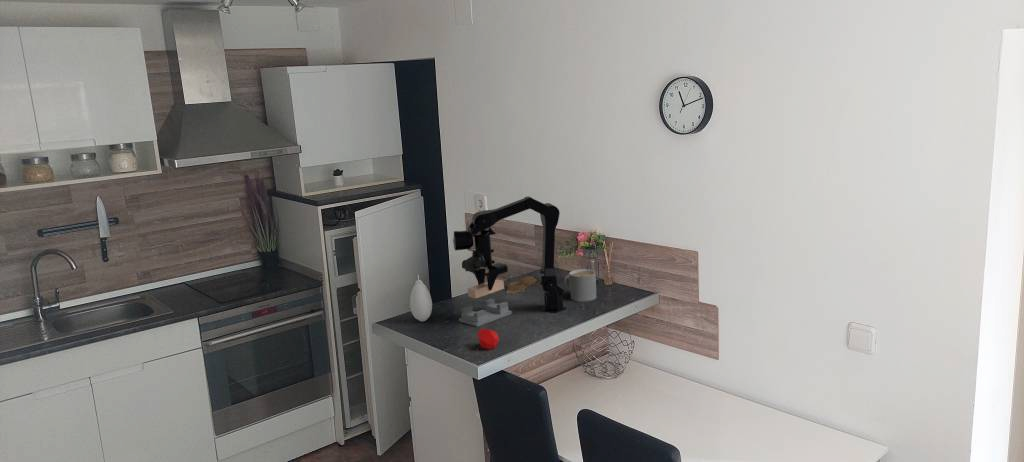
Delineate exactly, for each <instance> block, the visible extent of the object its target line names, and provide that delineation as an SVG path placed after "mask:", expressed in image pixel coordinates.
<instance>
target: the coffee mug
mask: <svg viewBox="0 0 1024 462" xmlns="http://www.w3.org/2000/svg"><path fill="white" fill-rule="evenodd" d="M596 277H597V276H596V272H595V270H593V269H587V268H586V269H585V268H584V269H575V270H572V271H570V272H569V274H568V275H566V276H565V278H564V286H565V288H566V289H567V290H568V291H570V293H569V294H570V300H571V301H573V302H580V303H581V302H582V303H585V302H592V301H594V300H595V299H597V283H596V282H597V281H596V280H597V278H596Z"/></svg>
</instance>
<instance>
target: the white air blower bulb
mask: <svg viewBox="0 0 1024 462" xmlns="http://www.w3.org/2000/svg"><path fill="white" fill-rule="evenodd" d="M414 283H415V284H414V285H413V286H412V290H411V293H410V298H409V305H410V311H411V314H412V316H413V317H414V318H415V319H416V320H417V321H419V322H425V321H427V320H428V319H429V318H430V317H431V314H432V311H433V310H432V309H433V301H432V296H431V294H430V291H429V289H428V288H427V286H426V285H425V283H423V280H421V279H420V275H419V274H417V280H415V282H414Z"/></svg>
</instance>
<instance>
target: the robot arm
mask: <svg viewBox="0 0 1024 462" xmlns="http://www.w3.org/2000/svg"><path fill="white" fill-rule="evenodd" d="M528 210H532V211H534V212H536V213H538V214H539V216H540V221H541V222H540V223H541V226H542V255H541V256H542V257H541V258H542V259H541V261H542V262H541V268H540V269H537V270H536V278H535V279H536V281H537V282H536V283H538V286H539V287H540V288H541V289H542V290H543V291H544V296H543V297H544V300H543V301H544V307H543V308H542V311H546V312H550V313H555V314H556V313H558V312H561V311H563V310H565V309H567V306H564V299H563V295H564V289H563V288H562V287H561V286H560V285H559V284H558V280H557V274H556V270H555V241H556V240H555V239H556V228H557V226H558V223H559V218H560V213H561V212H560V210H559V208H558V207H557V206H555V205H554V204H552V203H550V202H545V203H544V202H541V201H539V200H536V199H534V198H533V197H531V196H525V197H524V198H521V199H518V200H515V201H513V202H511V203H508V204H505V205H503V206H501V207H497V208H493V209H488V210H487V209H486V210H480V211H476V212H475V213H474V214H473V216H472V217H471V222H470V224H469V225H468V227H467V228H466V229H467V230H455V231H453V238H452V243H453V249H454V251H461V250H462V251H463V250H471V248H472V247H474V250H472V253H471V254H472V255H471V256H469V257H468V258H467V259H463V261H462V262H461V267H462V269H464V270H465V272H469V273H471V274H473V275H474V277H475V278H476V281H477V283H478V285H480V284H483V283H485V278H486V279H487V281H486V282H488V289H489V290H492V288H493V285H494V283H495V280H496V279H497V277H498V276H499V275H502V274H504V273H505V274H506V273H508V272H509V270H508V269H509V267H508V265H507V264H506V263H501V262H497V263H495V260H494V259H493V257H492V256H493V255H492V253H494V252H495V250H494V248H492V243H491V241H492V240H491V236H492V235H493V236H494V235H496V234H497V233H496V231H495V230H493V229H492V228H491V227H492V226H494V225H496V224H497V222H499V221H502V220H504V219H507V218H509V217H512V216H515V215H517V214H519V213H522V212H525V211H528ZM486 271H487V272H486Z"/></svg>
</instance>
